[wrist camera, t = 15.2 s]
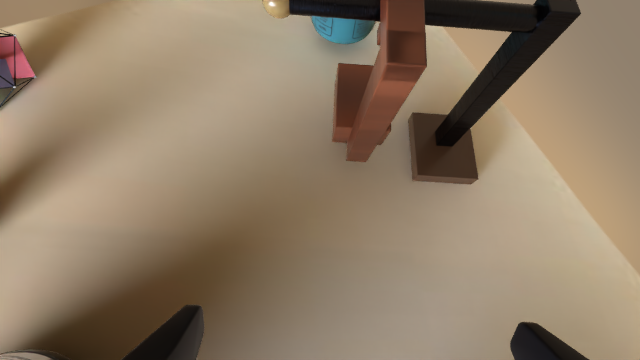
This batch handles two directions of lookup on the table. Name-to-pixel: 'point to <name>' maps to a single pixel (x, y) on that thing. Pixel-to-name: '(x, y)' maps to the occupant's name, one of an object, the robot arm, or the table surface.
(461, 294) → the table surface
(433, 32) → the table surface
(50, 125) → the table surface
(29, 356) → the supplement container
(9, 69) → the geometric puzzle
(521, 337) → the robot arm
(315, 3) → the rack
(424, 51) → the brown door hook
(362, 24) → the beverage bottle
